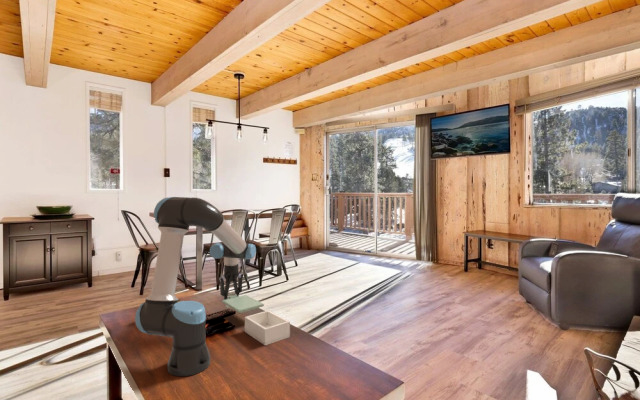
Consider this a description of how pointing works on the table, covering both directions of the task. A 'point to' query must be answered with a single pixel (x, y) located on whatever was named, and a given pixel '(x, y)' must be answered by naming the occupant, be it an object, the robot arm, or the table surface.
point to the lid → (242, 303)
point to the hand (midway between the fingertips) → (231, 306)
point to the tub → (267, 327)
